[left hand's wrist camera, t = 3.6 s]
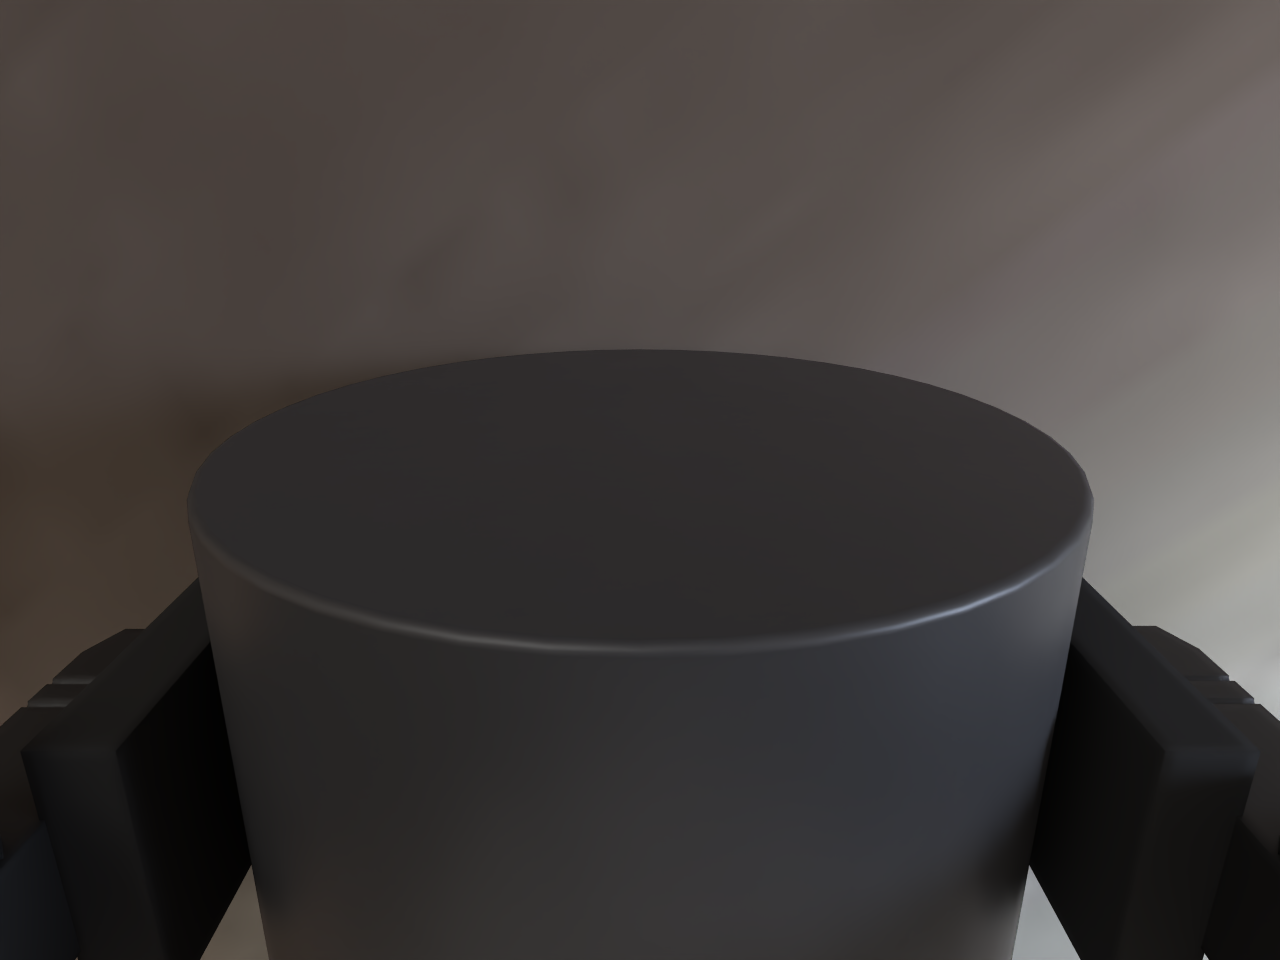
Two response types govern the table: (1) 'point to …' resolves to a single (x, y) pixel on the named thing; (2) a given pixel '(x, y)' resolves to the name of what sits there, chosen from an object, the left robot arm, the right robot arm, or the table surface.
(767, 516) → the rod
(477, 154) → the table surface
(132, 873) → the left robot arm
